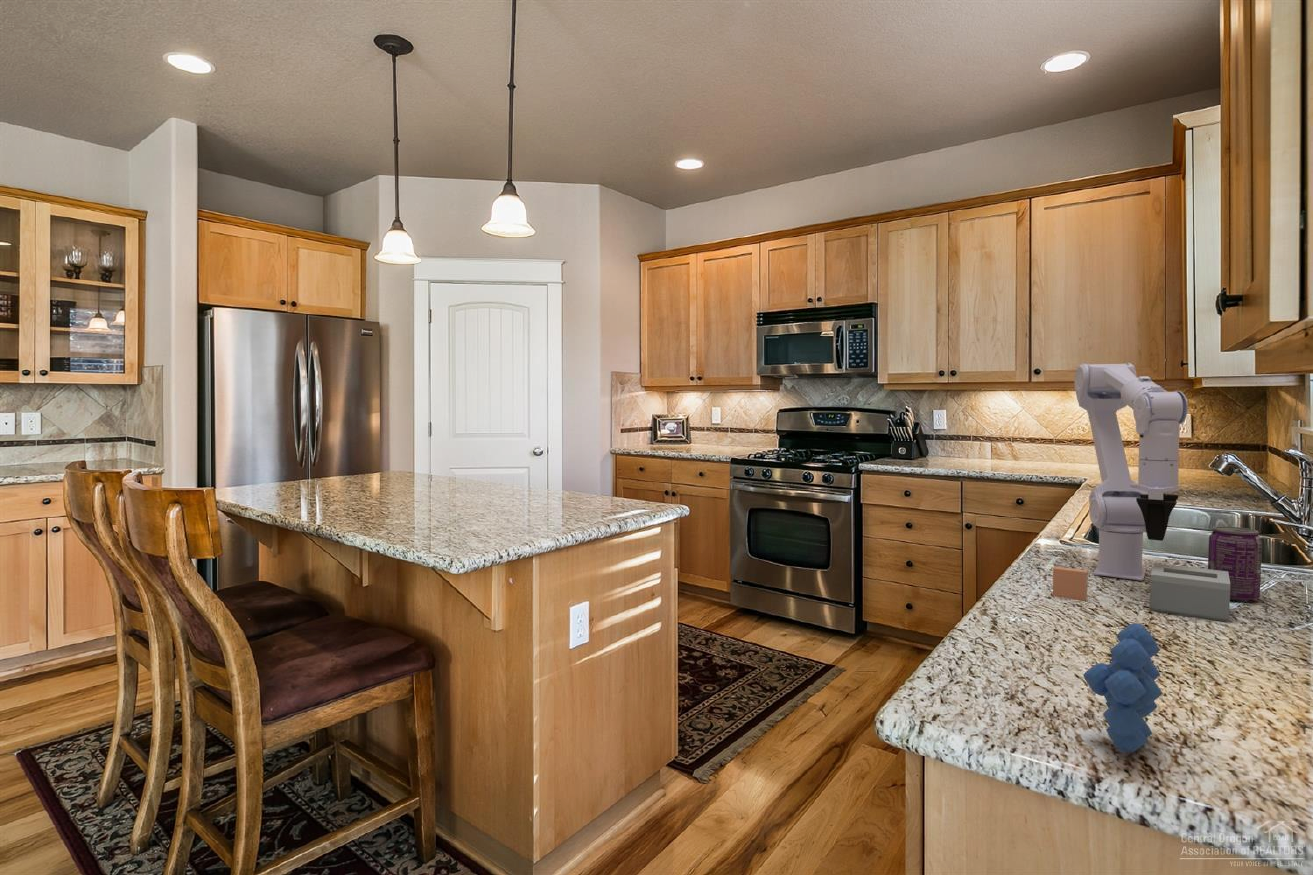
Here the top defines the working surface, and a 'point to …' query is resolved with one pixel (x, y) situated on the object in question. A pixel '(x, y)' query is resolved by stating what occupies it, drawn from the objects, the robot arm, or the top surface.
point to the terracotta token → (1070, 583)
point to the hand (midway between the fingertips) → (1156, 536)
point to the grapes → (1128, 687)
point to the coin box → (1190, 592)
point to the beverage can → (1237, 559)
